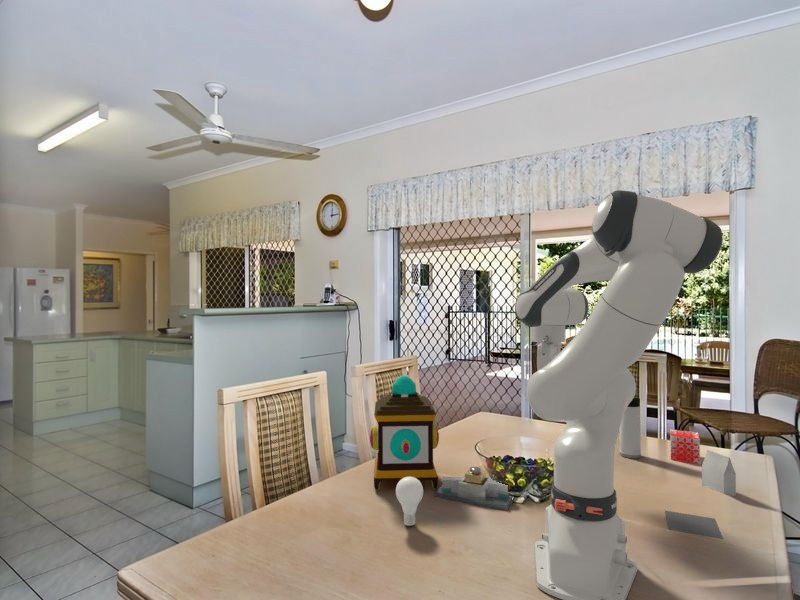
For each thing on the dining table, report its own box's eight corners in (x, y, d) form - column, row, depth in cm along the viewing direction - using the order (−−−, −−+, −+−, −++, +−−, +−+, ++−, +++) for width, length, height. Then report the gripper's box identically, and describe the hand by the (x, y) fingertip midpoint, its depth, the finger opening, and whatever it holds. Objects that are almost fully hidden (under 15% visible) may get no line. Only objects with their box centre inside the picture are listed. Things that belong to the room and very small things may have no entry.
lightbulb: (400, 534, 102) (399, 484, 102) (392, 521, 108) (392, 473, 108) (427, 530, 104) (427, 480, 104) (418, 517, 110) (418, 471, 110)
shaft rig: (507, 510, 113) (507, 492, 113) (434, 496, 121) (434, 480, 121) (515, 495, 122) (515, 478, 122) (447, 483, 130) (447, 467, 130)
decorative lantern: (369, 493, 124) (368, 381, 124) (371, 467, 144) (370, 370, 144) (443, 492, 124) (442, 380, 125) (435, 466, 144) (434, 369, 144)
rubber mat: (723, 542, 97) (723, 538, 97) (668, 532, 102) (668, 528, 102) (714, 522, 106) (714, 518, 106) (664, 513, 111) (664, 510, 111)
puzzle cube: (699, 463, 145) (699, 438, 145) (670, 459, 149) (670, 435, 149) (698, 456, 152) (697, 432, 152) (670, 452, 156) (670, 429, 156)
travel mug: (614, 454, 154) (614, 394, 154) (628, 451, 157) (627, 392, 157) (631, 460, 148) (630, 397, 148) (645, 457, 151) (644, 395, 151)
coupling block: (481, 496, 119) (481, 472, 119) (464, 493, 121) (464, 470, 121) (485, 489, 123) (485, 467, 123) (469, 487, 125) (469, 464, 125)
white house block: (724, 497, 120) (723, 458, 120) (702, 487, 127) (701, 450, 127) (735, 496, 121) (735, 457, 121) (713, 485, 127) (713, 449, 127)
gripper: (556, 338, 119) (556, 392, 119) (564, 333, 138) (564, 379, 138) (530, 337, 122) (531, 390, 122) (542, 332, 140) (542, 378, 140)
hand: (548, 384), depth 130 cm, fingers open, 8 cm apart
